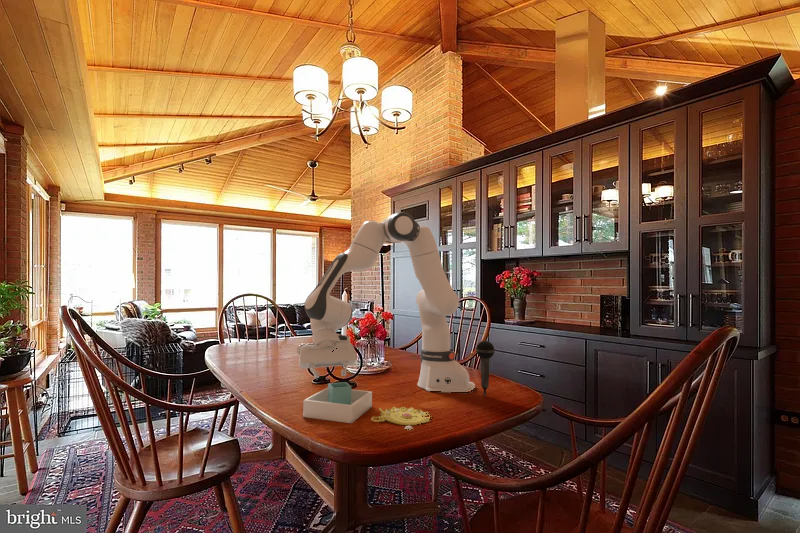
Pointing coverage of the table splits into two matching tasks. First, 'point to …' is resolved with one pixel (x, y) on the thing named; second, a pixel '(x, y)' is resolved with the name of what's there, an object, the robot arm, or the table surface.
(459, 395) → the table surface
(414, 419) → the decorative object
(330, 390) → the block
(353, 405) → the white open box
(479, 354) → the microphone
